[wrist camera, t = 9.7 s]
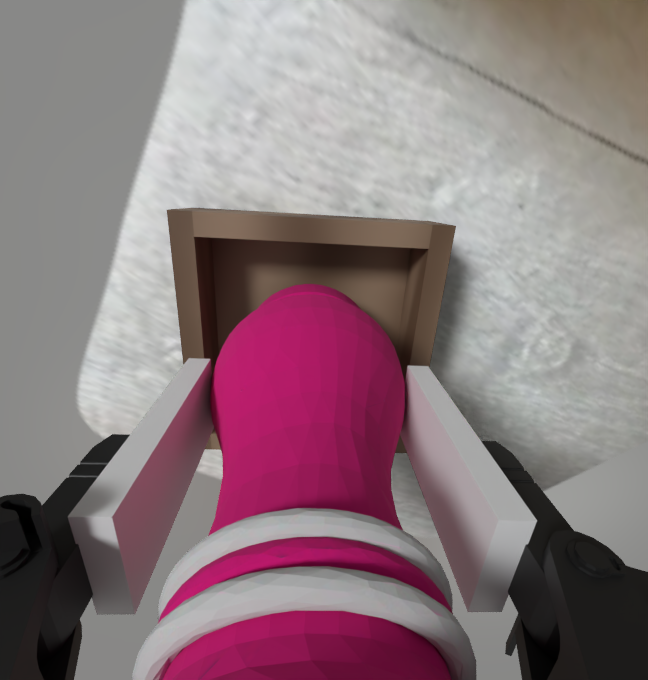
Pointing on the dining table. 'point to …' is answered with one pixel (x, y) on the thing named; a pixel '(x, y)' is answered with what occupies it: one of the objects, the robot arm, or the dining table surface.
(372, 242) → the holder tray
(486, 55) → the dining table surface
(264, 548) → the pepper mill
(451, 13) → the dining table surface
